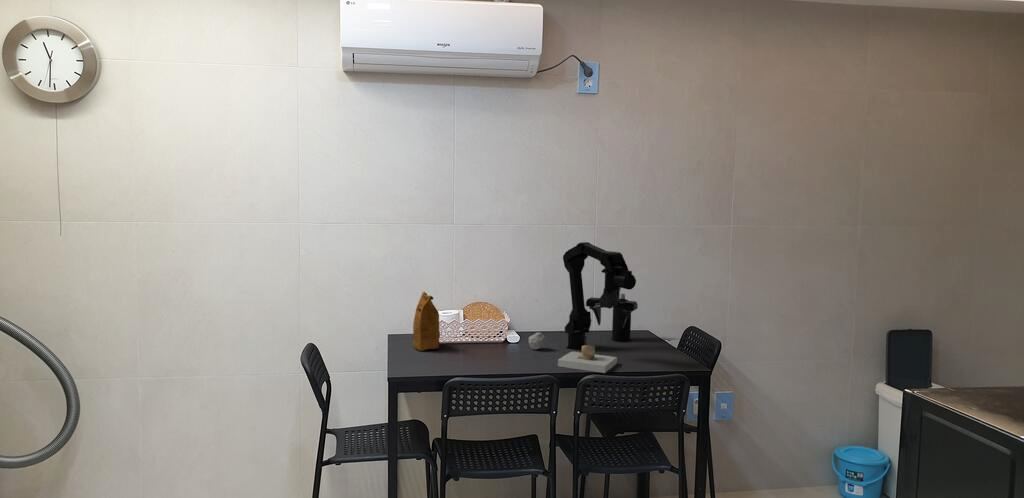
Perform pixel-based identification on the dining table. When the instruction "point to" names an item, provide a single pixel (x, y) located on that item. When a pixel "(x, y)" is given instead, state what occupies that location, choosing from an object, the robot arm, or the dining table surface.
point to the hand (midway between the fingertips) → (610, 326)
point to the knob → (588, 353)
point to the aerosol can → (620, 324)
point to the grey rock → (536, 340)
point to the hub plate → (587, 362)
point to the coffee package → (426, 324)
